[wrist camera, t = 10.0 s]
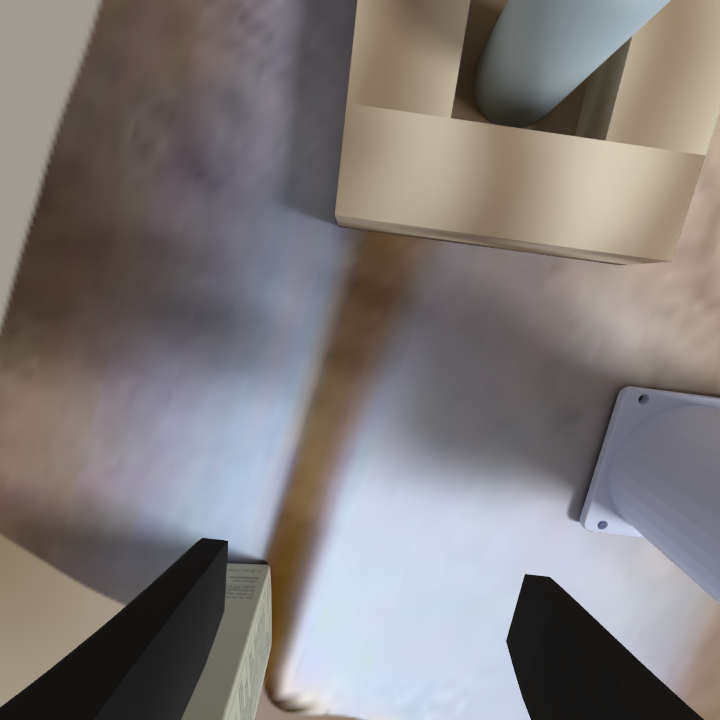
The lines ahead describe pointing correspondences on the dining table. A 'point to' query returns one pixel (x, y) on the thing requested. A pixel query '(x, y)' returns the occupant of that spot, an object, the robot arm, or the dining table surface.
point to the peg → (549, 53)
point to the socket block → (527, 137)
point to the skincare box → (237, 649)
